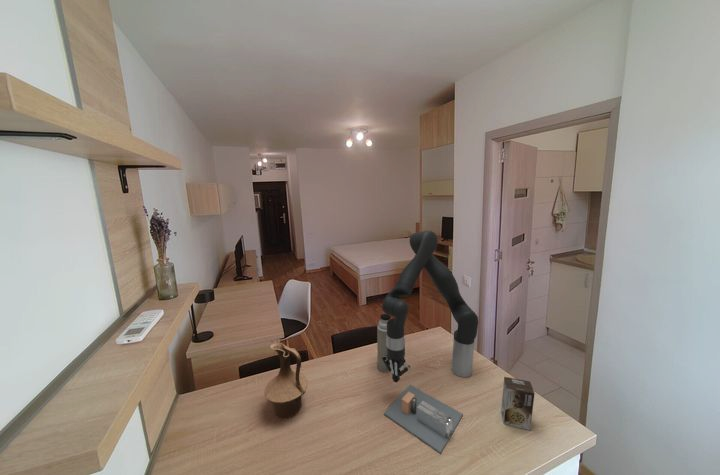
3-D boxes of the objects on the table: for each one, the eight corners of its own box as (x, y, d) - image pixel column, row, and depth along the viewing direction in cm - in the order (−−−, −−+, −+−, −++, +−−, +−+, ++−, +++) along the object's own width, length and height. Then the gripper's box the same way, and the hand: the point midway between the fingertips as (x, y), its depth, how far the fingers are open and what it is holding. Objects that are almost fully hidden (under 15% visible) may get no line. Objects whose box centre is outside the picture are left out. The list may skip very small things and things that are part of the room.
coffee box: (526, 416, 104) (530, 381, 101) (530, 431, 98) (535, 393, 95) (500, 410, 107) (504, 375, 104) (503, 424, 101) (507, 387, 98)
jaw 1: (419, 415, 104) (420, 403, 103) (422, 412, 106) (422, 400, 104) (450, 435, 96) (451, 422, 95) (452, 431, 97) (453, 418, 96)
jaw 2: (416, 419, 102) (417, 407, 101) (419, 416, 104) (419, 404, 103) (448, 439, 94) (448, 426, 93) (450, 435, 96) (451, 422, 95)
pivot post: (410, 412, 106) (411, 399, 104) (413, 409, 107) (413, 396, 106) (414, 415, 104) (415, 401, 103) (417, 412, 106) (417, 399, 104)
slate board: (409, 386, 120) (409, 384, 120) (462, 415, 105) (462, 414, 105) (383, 414, 106) (383, 412, 106) (440, 454, 90) (440, 452, 90)
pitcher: (317, 399, 114) (314, 340, 108) (292, 432, 99) (287, 366, 93) (285, 386, 121) (281, 331, 115) (257, 416, 106) (250, 354, 100)
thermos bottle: (393, 362, 136) (394, 312, 130) (392, 373, 128) (393, 320, 123) (378, 361, 138) (378, 311, 132) (376, 371, 130) (376, 319, 124)
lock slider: (401, 410, 106) (401, 399, 105) (408, 402, 110) (408, 391, 109) (407, 414, 104) (408, 403, 103) (414, 406, 108) (415, 395, 107)
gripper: (377, 342, 110) (378, 379, 113) (404, 355, 101) (405, 393, 105) (387, 334, 115) (388, 369, 119) (414, 345, 107) (414, 382, 110)
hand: (396, 380), depth 112 cm, fingers closed
